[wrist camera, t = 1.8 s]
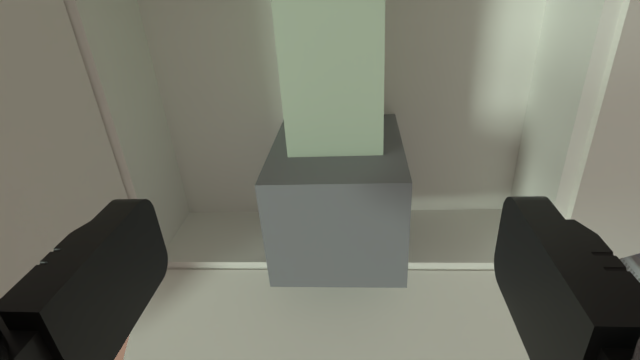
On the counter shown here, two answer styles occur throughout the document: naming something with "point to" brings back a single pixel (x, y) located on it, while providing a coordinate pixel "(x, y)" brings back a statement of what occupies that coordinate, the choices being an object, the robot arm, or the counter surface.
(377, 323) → the carton
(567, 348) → the robot arm
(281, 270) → the box
